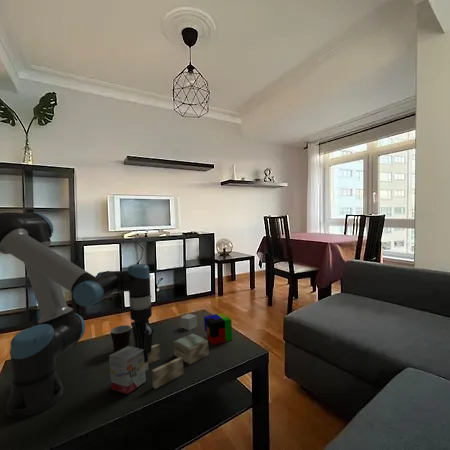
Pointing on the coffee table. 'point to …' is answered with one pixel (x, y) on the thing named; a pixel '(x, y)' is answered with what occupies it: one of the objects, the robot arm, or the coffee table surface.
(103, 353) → the coffee table surface
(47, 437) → the coffee table surface
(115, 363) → the ink box
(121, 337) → the coffee mug
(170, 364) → the wooden blocks
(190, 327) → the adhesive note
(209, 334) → the puzzle toy
